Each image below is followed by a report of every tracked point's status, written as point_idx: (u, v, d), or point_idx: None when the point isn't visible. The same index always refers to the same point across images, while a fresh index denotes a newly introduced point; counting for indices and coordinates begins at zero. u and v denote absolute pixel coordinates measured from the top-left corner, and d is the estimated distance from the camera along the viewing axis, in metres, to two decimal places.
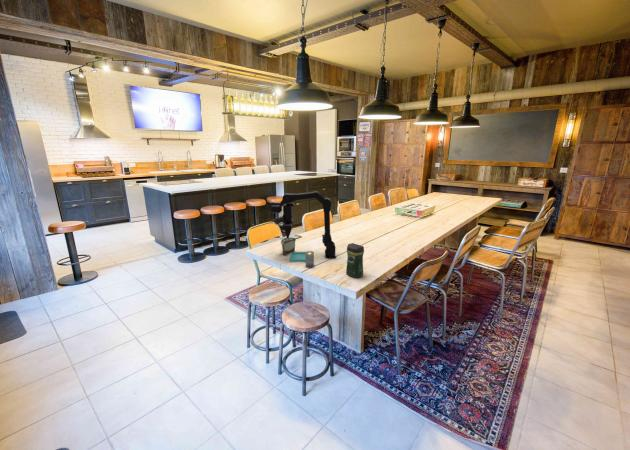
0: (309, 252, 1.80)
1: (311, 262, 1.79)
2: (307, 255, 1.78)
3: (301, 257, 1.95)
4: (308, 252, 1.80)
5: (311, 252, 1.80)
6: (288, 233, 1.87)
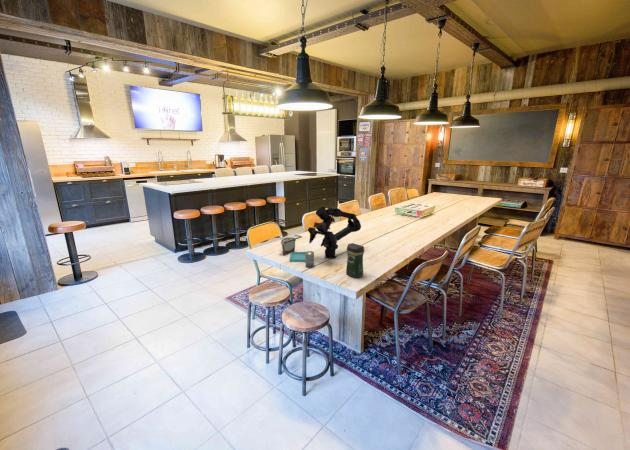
0: (309, 252, 1.80)
1: (311, 262, 1.79)
2: (307, 255, 1.78)
3: (301, 257, 1.95)
4: (308, 252, 1.80)
5: (311, 252, 1.80)
6: (325, 242, 1.82)
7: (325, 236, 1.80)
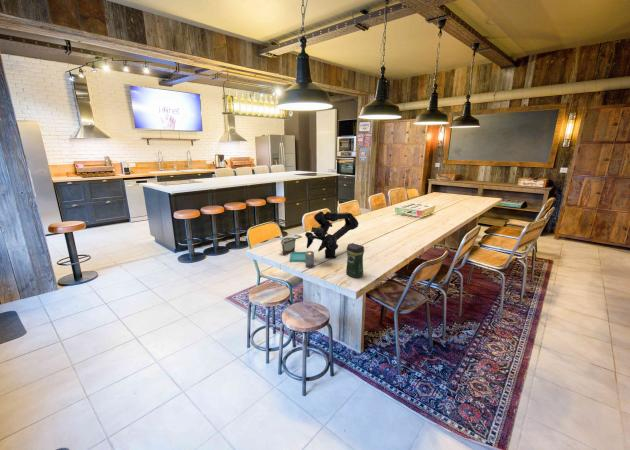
0: (309, 252, 1.80)
1: (311, 262, 1.79)
2: (307, 255, 1.78)
3: (301, 257, 1.95)
4: (308, 252, 1.80)
5: (311, 252, 1.80)
6: (322, 247, 1.80)
7: (322, 241, 1.79)
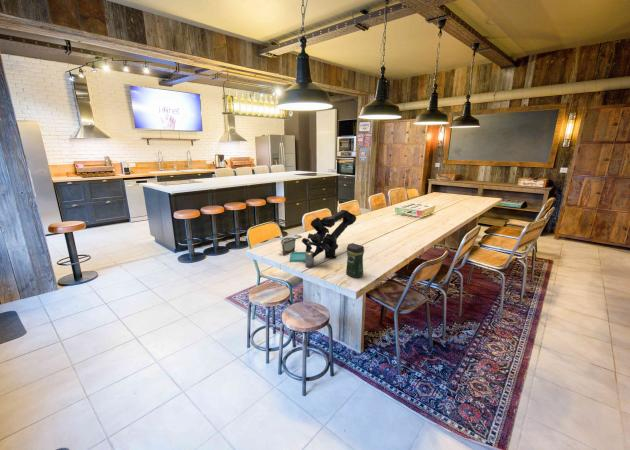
0: (309, 252, 1.80)
1: (311, 262, 1.79)
2: (307, 255, 1.78)
3: (301, 257, 1.95)
4: (308, 252, 1.80)
5: (311, 252, 1.80)
6: (317, 253, 1.80)
7: (317, 247, 1.78)
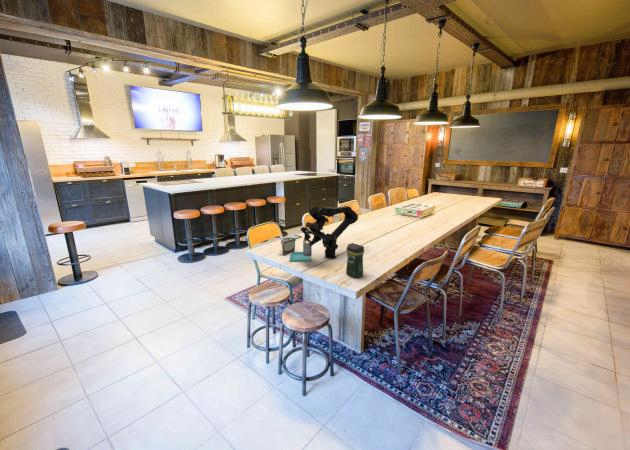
0: (307, 241, 1.80)
1: (308, 251, 1.79)
2: (304, 243, 1.78)
3: (301, 257, 1.95)
4: (306, 241, 1.80)
5: (309, 241, 1.80)
6: (314, 242, 1.79)
7: (314, 236, 1.78)
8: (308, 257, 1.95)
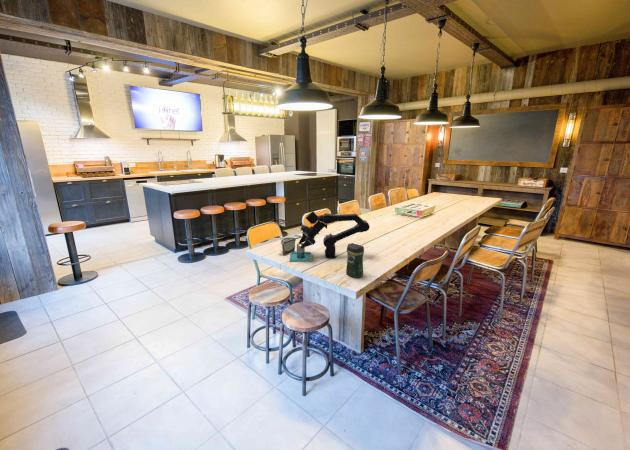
0: (300, 244, 1.94)
1: (299, 253, 1.93)
2: (297, 246, 1.93)
3: None
4: (299, 244, 1.94)
5: (301, 244, 1.93)
6: (305, 245, 1.88)
7: (305, 239, 1.87)
8: (308, 257, 1.95)
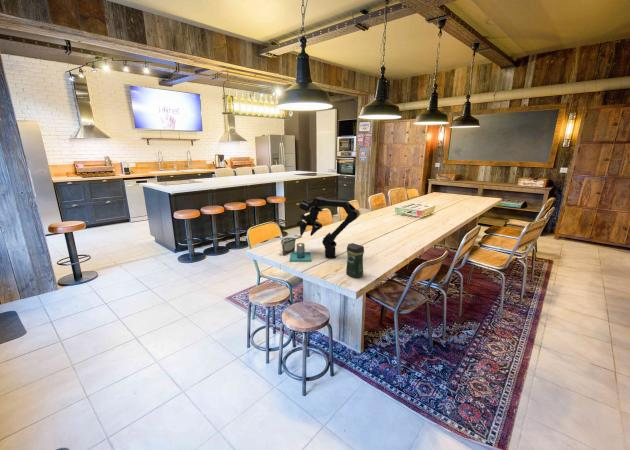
0: (300, 244, 1.94)
1: (299, 253, 1.93)
2: None
3: None
4: (299, 244, 1.94)
5: (301, 244, 1.93)
6: (301, 231, 1.95)
7: None
8: (308, 257, 1.95)
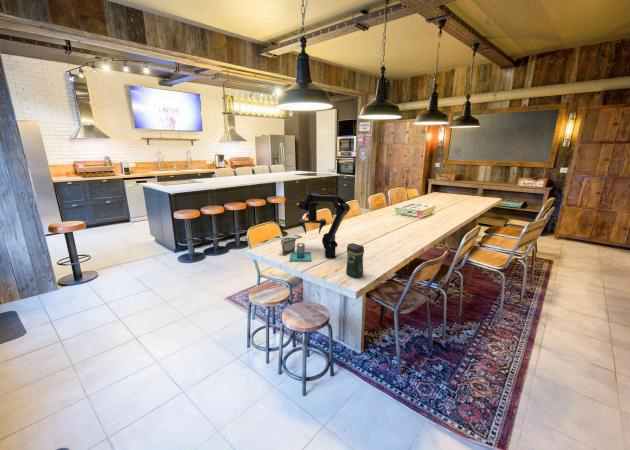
0: (300, 244, 1.93)
1: (299, 253, 1.93)
2: (297, 246, 1.93)
3: None
4: (300, 244, 1.94)
5: (302, 244, 1.93)
6: (304, 229, 2.03)
7: None
8: (308, 257, 1.95)
